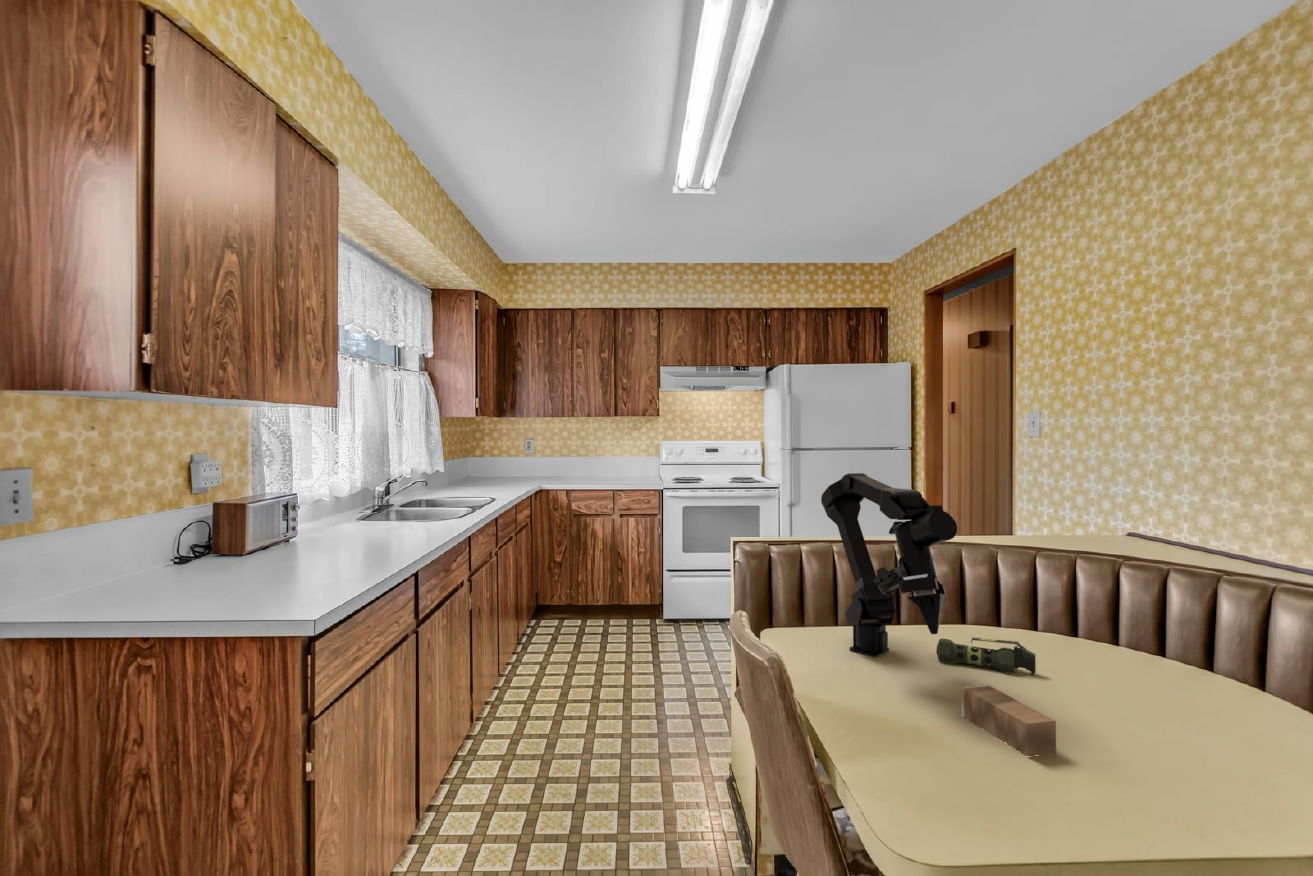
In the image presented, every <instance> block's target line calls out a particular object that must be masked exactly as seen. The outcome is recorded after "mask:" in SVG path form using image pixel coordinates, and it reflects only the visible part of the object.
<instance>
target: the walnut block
mask: <svg viewBox="0 0 1313 876" xmlns="http://www.w3.org/2000/svg"><path fill="white" fill-rule="evenodd" d="M961 717H962V718H963V717H964V718H963V719H965V720H966V719H968V720H969V722H970V723H971V722H972V723H971V724H973V723H974V724H975V726H976V725H977V726H976V727H978V728H979V727H980V728H979V729H981V728H982V729H984V730H985V731H984V730H983V731H984V732H986V733H987V732H989V733H990V734H992V735H993V736H992V735H991V736H992V737H994V738H995V737H997V738H998V739H1000V740H1002V741H1003V742H1006V743H1007V744H1008V745H1009V746H1012V747H1013V748H1015V749H1016V750H1017V751H1020V752H1021V753H1022V754H1024V755H1026V756H1035V755H1046V756H1049V755H1048V754H1054V755H1057V729H1056V728H1057V724H1056V723H1057V721H1056V720H1055V719H1053V718H1051V717H1050V716H1048V715H1046V714H1043V713H1042V712H1041V711H1038V710H1037V709H1034V708H1032V707H1030V706H1029V705H1027V704H1026V703H1023V702H1021V701H1019V700H1017V699H1015V698H1013V697H1012V696H1010V695H1008V694H1006V693H1004V692H1002V691H1001V690H998V689H996V688H994V687H992V686H991V685H989V684H979V685H970V686H969V685H968V686H961ZM968 720H967V721H968ZM974 724H973V725H974ZM982 729H981V730H982ZM989 733H988V734H989ZM990 734H989V735H990ZM997 738H996V739H997ZM998 739H997V740H998ZM1000 740H999V741H1000ZM1003 742H1002V743H1003ZM1008 745H1007V746H1008ZM1009 746H1008V747H1009ZM1013 748H1012V749H1013ZM1016 750H1015V751H1016ZM1017 751H1016V752H1017ZM1021 753H1020V754H1021ZM1022 754H1021V755H1022ZM1024 755H1023V756H1024Z"/></svg>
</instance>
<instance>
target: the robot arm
mask: <svg viewBox="0 0 1313 876" xmlns="http://www.w3.org/2000/svg"><path fill="white" fill-rule="evenodd" d="M820 499H821V500H820V502H821V505H822V507H823V509H824V511H825V514H826V516H827V517H828V519H830V520H831V521H832V522H833V523H834V524H835V525H836V526H837V530H838V532H839V535H840V538H841V542H842V545H843V548H844V552H845V556H846V557H847V558H846V559H847V562H848V564H849V568H850V571H851V573H852V578H853V580H854V585H853V588H852V592H851V601H852V602H851V604H850V605H849V606H848V608H847V609H846V610H845V617H846V621H847V622H848V623H850V624H852V642H853V643H852V646H850V647H848V648H849V651H851V652H855V653H858V654H859V653H860V654H864V655H867V656H871V657H875V658H877V657H879V656H881V655H883V654H885V653H887V652H889V651H890V647H889V639H888V638H889V636H888V635H889V633H888V631H886V629H887V628H886V627H887V625H892V624H893V620H894V616H895V613H896V612H895V611H896V607H897V605H896V602H895V596H894V595H893V592H894V591H896V590H897V589H900V593H901V594H902V595H906V594H908V593H910V594H911V596H908V597H906V599H907V600H909V601H911V602H912V603H913V604H914V605H916V606H917V607H918V608H919V609H918V610H919V611H920V613H921V615H922V617H923V619H924V622H925V624H926V627H927V628H928V631H929V632H930V634H931V635H937V634H938V633H939V628H940V622H941V615H942V608H943V603H944V598H945V596H947V591H946V587H945V585H944V584H942V583H940V580H939V577H938V575H937V571H936V568H935V563H934V562H935V559H934V557H933V555H932V552H931V547H932V546H936V545H938V544H941V543H944V542H947V541H950V540H952V539H954V537H956V535H957V533H958V524H957V521H956V520H955V519H954V518H953V517H952V515H951V514H949V513H948V512H946V511H944V508H943V506H942V504H935V505H930V504H929V502H928V501H927V500H926V499H925V498H924V497H923V494H922V493H921V491H918V490H916V489H908V488H896V487H892V486H890V485H888V484H885V483H883V482H880V481H879V480H877V479H874V478H872V477H870V476H868V475H867V474H865V473H863V472H862V473H861V472H859V473H858V472H857V473H856V472H853V473H851V472H849V473H846V474H844V475H843V476H842V477H841V478H840V479H839V480H837V481H836V482H835V481H834V482H833V483H832V484H829V485H828V486H827V488H826V489H825V490H824V491H823V493H822V494H821V498H820ZM864 499H866V500H868V501H871V502H872V503H874V504H876V505H877V506H879V511H880V512H881V513H882V514H883V515H884V516H885V517H887V518H888V519H890V520H897V521H893V524H892V526H891V527H890V528H889V530H888V534H889V535H894V536H895V539H896V545H897V548H898V552H899V559H897V561H898V566H896V567H894V568H891V569H890V570H889V569H887V568H885V567H884V566H882V567H881V568H878V569H877V570H875V568H874V564H873V561H872V558H871V555H870V552H869V549H868V546H867V543H866V540H865V537H864V534H863V531H862V527H861V525H860V523H859V516H860V515H859V514H860V512H861V509H862V506H861V502H862V501H863V500H864Z"/></svg>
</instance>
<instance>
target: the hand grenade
mask: <svg viewBox="0 0 1313 876" xmlns="http://www.w3.org/2000/svg"><path fill="white" fill-rule="evenodd" d="M973 641H975V642H976V641H979V642H989V643H999V644H1011V645H1015V646H1014V647H1013V648H1009V647H1001V648H1000V647H999V648H998V649H996V648H995V649H994V648H993V649H992V648H987V647H980V646H979V647H978V646H973V645H967V644H959V643H955V642H953V640H951V639H949V638H940V639H939V640H938V642H937V644H936V655H937V660H938V661H939V662H940V663H946V664H951V663H953V662H957V663H962V664H963V663H964V664H970V665H977V666H980V667H989V668H993V669H997V670H998V671H999V672H1001V673H1006V674H1011V673H1013V674H1014V673H1015V672H1016V669H1019V668H1021V669H1025V670H1026V671H1029V672H1030V674H1031V676H1034V675H1035V674H1036V669H1037V668H1036V666H1037V665H1036V664H1037V663H1036V660H1037V659H1036V653H1034V652H1032V651H1030V650H1028V649H1027V648H1026V647H1025V646H1024V645H1022V644H1020V643H1019V641H1016V640H1015V641H1014V640H1004V639H995V638H982V637H981V638H980V637H974V636H973V637H971V641H970V644H972V643H973Z"/></svg>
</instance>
